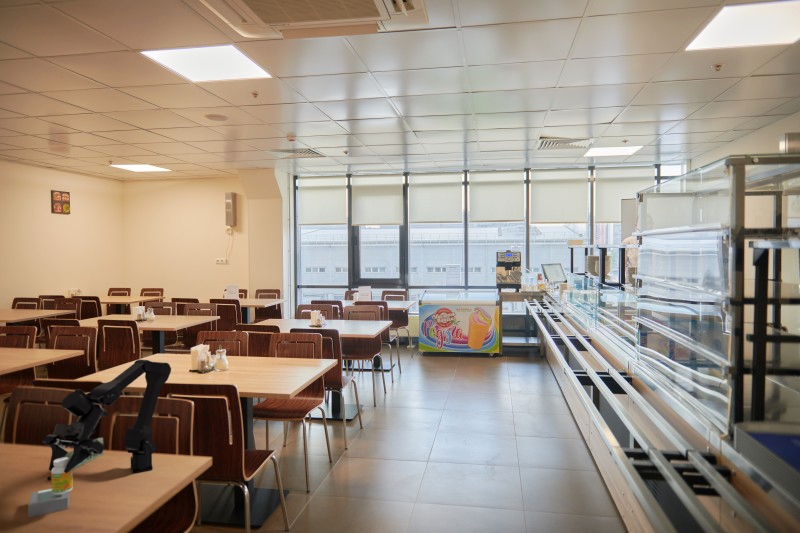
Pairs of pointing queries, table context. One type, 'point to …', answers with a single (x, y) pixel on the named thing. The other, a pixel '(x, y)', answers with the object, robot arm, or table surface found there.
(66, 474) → the supplement bottle
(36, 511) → the dock
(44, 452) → the table surface
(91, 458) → the handheld radio
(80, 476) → the table surface
